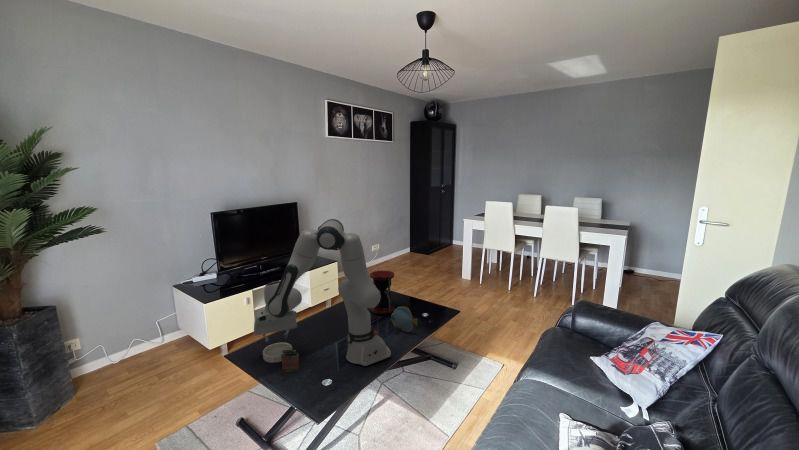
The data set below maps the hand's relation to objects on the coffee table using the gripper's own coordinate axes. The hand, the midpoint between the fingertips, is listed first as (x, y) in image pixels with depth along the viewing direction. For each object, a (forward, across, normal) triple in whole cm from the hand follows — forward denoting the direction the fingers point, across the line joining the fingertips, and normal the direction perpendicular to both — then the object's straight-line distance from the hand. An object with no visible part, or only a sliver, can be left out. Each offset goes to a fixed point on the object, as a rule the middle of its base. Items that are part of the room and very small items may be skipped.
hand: (276, 339), depth 169 cm
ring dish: (+9, 0, 0) cm, 9 cm away
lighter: (+9, -5, +16) cm, 19 cm away
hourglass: (+8, -69, -31) cm, 76 cm away
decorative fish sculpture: (+9, -69, +2) cm, 70 cm away
